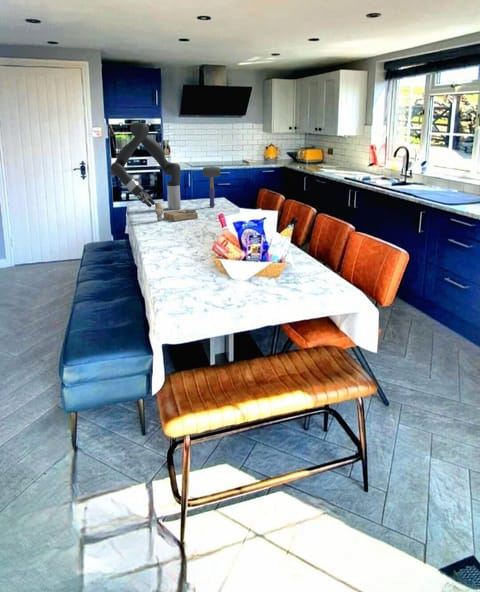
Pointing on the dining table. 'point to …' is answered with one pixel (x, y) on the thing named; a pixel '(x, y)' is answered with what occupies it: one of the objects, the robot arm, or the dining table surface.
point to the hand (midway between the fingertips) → (152, 205)
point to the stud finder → (191, 211)
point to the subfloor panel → (180, 215)
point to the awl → (159, 210)
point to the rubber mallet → (211, 180)
